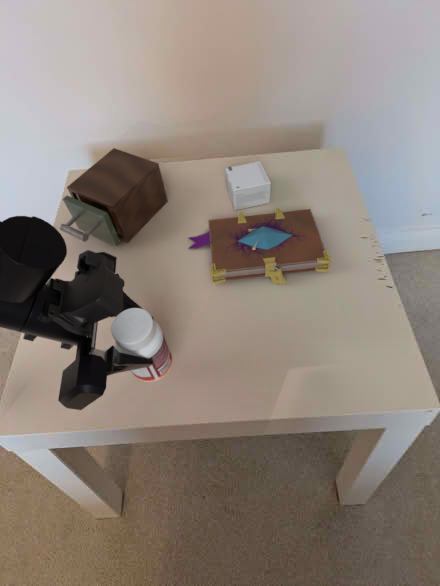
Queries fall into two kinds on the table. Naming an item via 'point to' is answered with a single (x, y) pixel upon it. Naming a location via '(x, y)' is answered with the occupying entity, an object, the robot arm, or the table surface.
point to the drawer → (91, 220)
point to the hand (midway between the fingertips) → (151, 341)
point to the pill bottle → (142, 342)
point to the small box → (248, 185)
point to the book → (264, 246)
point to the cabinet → (124, 189)
